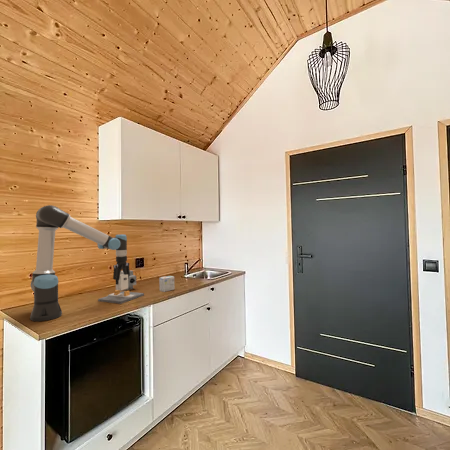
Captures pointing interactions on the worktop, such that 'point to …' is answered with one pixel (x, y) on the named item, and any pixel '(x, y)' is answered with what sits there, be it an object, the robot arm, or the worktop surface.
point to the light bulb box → (166, 283)
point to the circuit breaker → (130, 280)
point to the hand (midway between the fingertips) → (122, 287)
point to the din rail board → (120, 297)
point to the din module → (123, 282)
